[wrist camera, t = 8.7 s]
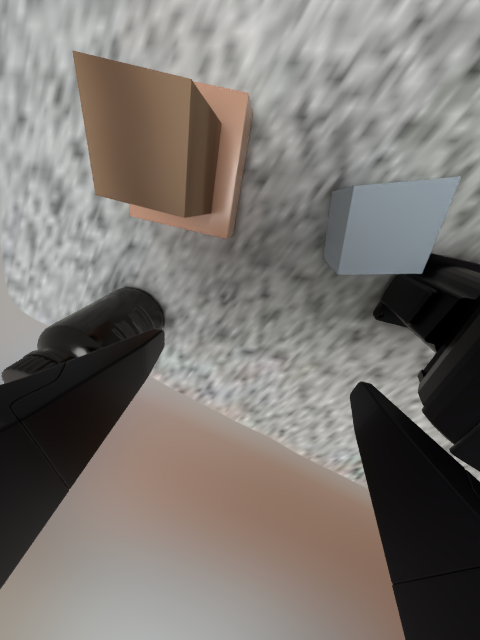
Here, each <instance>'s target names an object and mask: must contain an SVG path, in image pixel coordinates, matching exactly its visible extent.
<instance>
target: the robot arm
mask: <svg viewBox="0 0 480 640" xmlns="http://www.w3.org/2000/svg"><path fill="white" fill-rule="evenodd" d="M381 313H382V315H380V316H378V315H379V314H381ZM373 316H374V318H375V319H376V320H379V321H383V322H387V323H391V324H396V325H400V326H404V327H408V328H409V329H410V330H412V331H413V332H414V333H415V334H416V335H417V336H418V337H419V338H420V339H421V340H422V341H424V342H425V343H426V344H427V345H428V346H429V347H430V348H431V349H432V350H433V351H434V352H436V354H435V355H434V357H433V358H432V360H431V361H430V362H429V364H428V365H427V366H426V368H425V369H424V370H421V371H420V373H419V374H418V378H419V382H420V384H419V388H418V394H419V397H420V399H421V402H422V404H423V406H424V407H423V408H422V412H423V414H424V415H425V416H426V417H427V419H428V420H429V421H430V422H431V424H432V425H433V426H434V427H435V428H436V429H437V430H438V431H439V432H440V433H441V434H442V435H443V436H444V437H445V438H446V439H448V440H449V441H450V442H451V443H453V444H454V445H453V446H452V447H451V448H450V449H449V450H450V452H451V453H452V454H453V455H454V456H456V457H457V458H459V459H460V460H462V461H464V462H465V463H467V464H468V465H470V466H472V467H473V468H475V469H476V470H478V471H479V472H480V264H476V263H471V262H467V261H463V260H458V259H454V258H450V257H445V256H441V255H437V254H432V253H430V255H429V258H428V260H427V263H426V265H425V268H424V270H423V273H422V274H398V275H397V276H396V277H395V279H394V280H393V282H392V283H391V285H390V286H389V288H388V289H387V291H386V293H385V294H384V296H383V297H382V299H381V302H380V304H379V305H378V307H377V308H376V310H375V311H374V313H373ZM164 344H165V343H164V331H163V330H160V329H157V328H154V329H151V330H148V331H146V332H143V333H141V334H138V335H135V336H133V337H130V338H127V339H125V340H122V341H120V342H117V343H114V344H112V345H109V346H106V347H104V348H101V349H99V350H96V351H93V352H91V353H88V354H85V355H83V356H80V357H78V358H75V359H72V360H70V361H67V363H66V362H64V363H62V364H59V365H56V366H54V367H51V368H48V369H46V370H43V371H40V372H37V373H35V374H32V375H29V376H26V377H23V378H20V379H17V380H14V381H11V382H8V383H5V384H2V385H0V589H1V587H2V586H3V585H4V583H5V582H6V580H7V579H8V577H9V576H10V575H11V573H12V572H13V570H14V569H15V567H16V566H17V565H18V563H19V562H20V560H21V559H22V557H23V556H24V555H25V553H26V552H27V550H28V549H29V547H30V546H31V545H32V543H33V542H34V540H35V539H36V537H37V536H38V534H39V533H40V531H41V530H42V529H43V527H44V526H45V524H46V523H47V521H48V520H49V519H50V517H51V516H52V514H53V513H54V511H55V510H56V509H57V507H58V506H59V504H60V503H61V501H62V500H63V498H64V497H65V496H66V494H67V493H68V491H69V489H70V488H71V487H72V485H73V484H74V483H75V481H76V479H77V478H78V477H79V475H80V474H81V473H82V471H83V470H84V468H85V467H86V465H87V464H88V462H89V461H90V459H91V458H92V457H93V455H94V454H95V452H96V451H97V450H98V448H99V446H100V445H101V444H102V442H103V441H104V439H105V438H106V436H107V435H108V434H109V432H110V431H111V429H112V428H113V426H114V425H115V424H116V422H117V421H118V419H119V418H120V417H121V415H122V413H123V412H124V411H125V409H126V408H127V407H128V405H129V404H130V402H131V401H132V399H133V398H134V396H135V395H136V394H137V392H138V391H139V389H140V388H141V386H142V385H143V384H144V382H145V381H146V379H147V377H148V376H149V374H150V373H151V371H152V369H153V367H154V365H155V363H156V361H157V360H158V358H159V356H160V354H161V352H162V350H163V348H164ZM350 402H351V410H352V417H353V424H354V430H355V435H356V440H357V444H358V448H359V452H360V456H361V460H362V464H363V468H364V472H365V476H366V480H367V484H368V488H369V492H370V497H371V500H372V505H373V508H374V513H375V517H376V521H377V525H378V529H379V533H380V537H381V541H382V545H383V549H384V553H385V557H386V562H387V566H388V570H389V574H390V578H391V582H392V583H393V585H392V587H393V591H394V595H395V599H396V603H397V607H398V611H399V615H400V619H401V623H402V627H403V631H404V635H405V639H406V640H480V482H479V481H478V480H477V479H476V478H475V477H474V476H473V475H472V474H471V473H470V472H468V471H467V470H465V468H464V467H463V466H462V465H461V464H459V463H458V462H457V461H456V460H455V459H454V458H453V457H452V456H451V455H449V454H448V453H447V452H446V451H445V450H444V449H443V448H442V447H441V446H439V445H438V444H437V443H436V442H435V441H434V440H433V439H432V438H431V437H430V436H428V435H427V434H426V433H425V432H424V431H423V430H422V429H421V428H420V427H418V426H417V425H416V424H415V423H414V422H413V421H412V420H411V419H410V418H408V417H407V416H406V415H405V414H404V413H403V412H402V411H401V410H400V409H398V408H397V407H396V406H395V405H394V404H393V403H392V402H391V401H390V400H388V399H387V398H386V397H385V396H384V395H383V394H382V393H381V392H380V391H379V390H377V389H376V388H375V387H374V386H373V385H372V384H370V383H366V382H359V383H358V384H357V386H356V387H355V388H354V389H353V391H352V392H351V394H350Z"/></svg>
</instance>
